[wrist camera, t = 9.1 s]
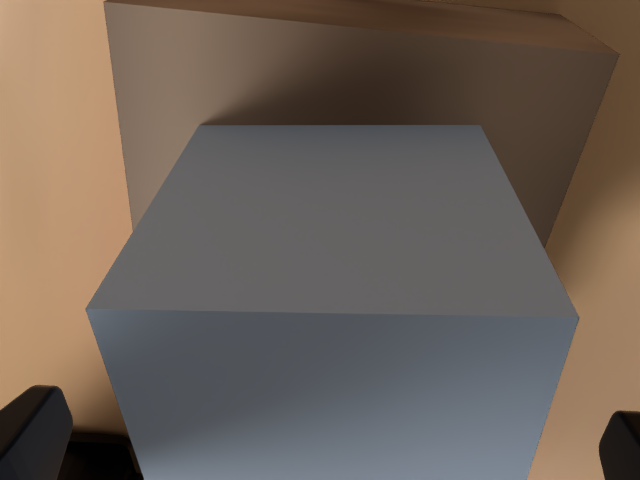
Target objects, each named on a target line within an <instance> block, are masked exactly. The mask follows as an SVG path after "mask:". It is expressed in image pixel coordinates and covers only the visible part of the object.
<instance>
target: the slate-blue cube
mask: <svg viewBox="0 0 640 480" xmlns="http://www.w3.org/2000/svg"><path fill="white" fill-rule="evenodd" d="M86 312H87V315H88V318H89V321H90V323H91V326H92V329H93V332H94V335H95V338H96V341H97V344H98V347H99V350H100V352H101V355H102V358H103V361H104V364H105V367H106V370H107V373H108V376H109V379H110V382H111V384H112V387H113V390H114V393H115V396H116V399H117V402H118V405H119V408H120V411H121V413H122V416H123V419H124V422H125V425H126V428H127V431H128V434H129V437H130V440H131V443H132V445H133V448H134V451H135V454H136V457H137V460H138V463H139V466H140V469H141V472H142V474H143V477H144V480H527V477H528V473H529V470H530V467H531V464H532V461H533V458H534V455H535V452H536V449H537V446H538V443H539V440H540V437H541V434H542V431H543V427H544V424H545V421H546V418H547V415H548V412H549V409H550V406H551V403H552V400H553V397H554V394H555V391H556V388H557V385H558V381H559V378H560V375H561V372H562V369H563V366H564V363H565V360H566V357H567V354H568V351H569V348H570V345H571V342H572V339H573V335H574V332H575V329H576V326H577V323H578V320H579V316H578V314H577V312H576V310H575V308H574V306H573V304H572V302H571V300H570V298H569V296H568V294H567V292H566V290H565V289H564V287H563V285H562V283H561V281H560V279H559V277H558V275H557V273H556V271H555V269H554V267H553V265H552V263H551V261H550V259H549V257H548V256H547V254H546V252H545V250H544V248H543V246H542V244H541V242H540V240H539V238H538V236H537V234H536V232H535V230H534V228H533V226H532V224H531V222H530V221H529V219H528V217H527V215H526V213H525V211H524V209H523V207H522V205H521V203H520V201H519V199H518V197H517V195H516V193H515V191H514V189H513V188H512V186H511V184H510V182H509V180H508V178H507V176H506V174H505V172H504V170H503V168H502V166H501V164H500V162H499V160H498V158H497V156H496V154H495V153H494V151H493V149H492V147H491V145H490V143H489V141H488V139H487V137H486V135H485V133H484V131H483V129H482V127H481V125H199V126H198V128H197V129H196V131H195V132H194V134H193V136H192V137H191V139H190V140H189V142H188V144H187V145H186V147H185V149H184V150H183V152H182V153H181V155H180V157H179V158H178V160H177V162H176V163H175V165H174V166H173V168H172V170H171V171H170V173H169V174H168V176H167V178H166V179H165V181H164V183H163V184H162V186H161V187H160V189H159V191H158V192H157V194H156V196H155V197H154V199H153V200H152V202H151V204H150V205H149V207H148V208H147V210H146V212H145V213H144V215H143V217H142V218H141V220H140V221H139V223H138V225H137V226H136V228H135V230H134V231H133V233H132V234H131V236H130V238H129V239H128V241H127V243H126V244H125V246H124V247H123V249H122V251H121V252H120V254H119V255H118V257H117V259H116V260H115V262H114V264H113V265H112V267H111V268H110V270H109V272H108V273H107V275H106V277H105V278H104V280H103V281H102V283H101V285H100V286H99V288H98V289H97V291H96V293H95V294H94V296H93V298H92V299H91V301H90V302H89V304H88V306H87V307H86Z"/></svg>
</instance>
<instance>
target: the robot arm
mask: <svg viewBox="0 0 640 480" xmlns="http://www.w3.org/2000/svg"><path fill="white" fill-rule="evenodd" d="M72 426H73V420H72V415H71V412H70V410H69V407H68V405H67V402H66V400H65V397H64V395H63V392H62V390H61V389H60V388H59V387H58V386H48V385H35V386H32V387H30V388H29V389H27V390H26V391H25V392H23V393H22V394H21V395H19V396H18V397H17V398H15V399H14V400H13V401H12V402H10V403H9V404H8V405H6V406H5V407H4V408H2V409H1V410H0V480H144V477H143V474H142V472H141V469H140V466H139V463H138V460H137V457H136V454H135V451H134V448H133V445H132V443H131V440H130V439H128V438H127V437H124V436H120V435H100V434H79V433H71V432H72ZM599 456H600V461H601V465H602V469H603V473H604V477H605V480H640V412H638V411H616V412H615V413H613V415H612V417H611V419H610V421H609V423H608V425H607V427H606V429H605V431H604V434H603V436H602V438H601V440H600V444H599Z"/></svg>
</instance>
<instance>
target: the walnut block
mask: <svg viewBox="0 0 640 480" xmlns="http://www.w3.org/2000/svg"><path fill="white" fill-rule="evenodd" d="M104 10H105V18H106V26H107V33H108V41H109V49H110V57H111V64H112V72H113V80H114V88H115V95H116V103H117V111H118V119H119V126H120V134H121V142H122V150H123V158H124V165H125V173H126V181H127V189H128V196H129V204H130V212H131V220H132V227H133V231H134V230H135V228H136V226H137V225H138V223H139V221H140V220H141V218H142V217H143V215H144V213H145V212H146V210H147V208H148V207H149V205H150V204H151V202H152V200H153V199H154V197H155V196H156V194H157V192H158V191H159V189H160V187H161V186H162V184H163V183H164V181H165V179H166V178H167V176H168V174H169V173H170V171H171V170H172V168H173V166H174V165H175V163H176V162H177V160H178V158H179V157H180V155H181V153H182V152H183V150H184V149H185V147H186V145H187V144H188V142H189V140H190V139H191V137H192V136H193V134H194V132H195V131H196V129H197V128H198V126H199V125H481V127H482V129H483V131H484V133H485V135H486V137H487V139H488V141H489V143H490V145H491V147H492V149H493V151H494V153H495V154H496V156H497V158H498V160H499V162H500V164H501V166H502V168H503V170H504V172H505V174H506V176H507V178H508V180H509V182H510V184H511V186H512V188H513V189H514V191H515V193H516V195H517V197H518V199H519V201H520V203H521V205H522V207H523V209H524V211H525V213H526V215H527V217H528V219H529V221H530V222H531V224H532V226H533V228H534V230H535V232H536V234H537V236H538V238H539V240H540V242H541V244H542V246H543V248H545V245H546V243H547V240H548V238H549V235H550V233H551V230H552V227H553V225H554V222H555V220H556V217H557V214H558V212H559V209H560V207H561V204H562V202H563V199H564V196H565V194H566V191H567V189H568V186H569V184H570V181H571V178H572V176H573V173H574V171H575V168H576V165H577V163H578V160H579V158H580V155H581V153H582V150H583V147H584V145H585V142H586V140H587V137H588V134H589V132H590V129H591V127H592V124H593V122H594V119H595V116H596V114H597V111H598V109H599V106H600V104H601V101H602V98H603V96H604V93H605V91H606V88H607V85H608V83H609V80H610V78H611V75H612V73H613V70H614V67H615V65H616V62H617V60H618V57H619V55H620V54H618V53H617V52H615V51H614V50H612V49H611V48H609V47H608V46H606V45H605V44H603V43H602V42H600V41H599V40H597V39H596V38H594V37H593V36H591V35H590V34H588V33H587V32H585V31H584V30H582V29H581V28H579V27H578V26H576V25H575V24H573V23H572V22H570V21H569V20H567V19H566V18H564V17H563V16H561V15H556V14H547V13H537V12H527V11H517V10H508V9H498V8H488V7H478V6H468V5H459V4H449V3H439V2H429V1H420V0H106V1H104Z"/></svg>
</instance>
